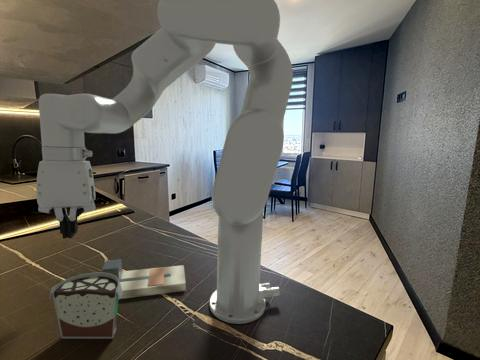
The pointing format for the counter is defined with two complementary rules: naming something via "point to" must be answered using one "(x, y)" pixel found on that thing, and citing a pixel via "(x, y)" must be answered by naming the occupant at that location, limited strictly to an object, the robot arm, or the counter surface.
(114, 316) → the food container
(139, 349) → the counter surface
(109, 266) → the fader tab
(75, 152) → the robot arm
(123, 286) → the fader console
